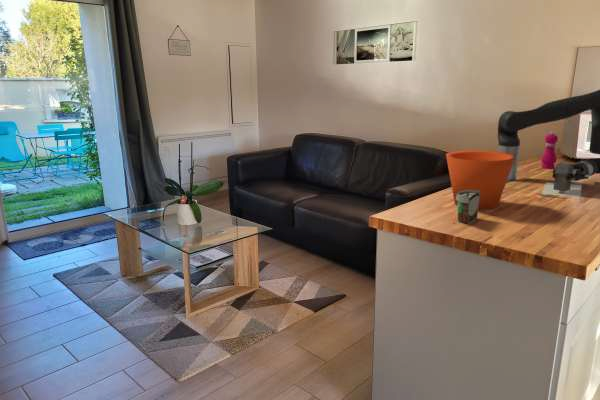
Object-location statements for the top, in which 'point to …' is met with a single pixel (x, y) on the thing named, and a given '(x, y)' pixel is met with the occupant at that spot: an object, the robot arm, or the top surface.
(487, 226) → the top surface
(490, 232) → the top surface
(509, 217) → the top surface
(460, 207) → the food container
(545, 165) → the pepper mill
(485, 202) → the flowerpot
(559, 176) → the charcoal link
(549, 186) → the plate
